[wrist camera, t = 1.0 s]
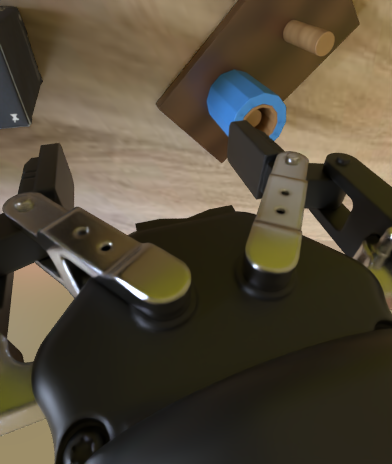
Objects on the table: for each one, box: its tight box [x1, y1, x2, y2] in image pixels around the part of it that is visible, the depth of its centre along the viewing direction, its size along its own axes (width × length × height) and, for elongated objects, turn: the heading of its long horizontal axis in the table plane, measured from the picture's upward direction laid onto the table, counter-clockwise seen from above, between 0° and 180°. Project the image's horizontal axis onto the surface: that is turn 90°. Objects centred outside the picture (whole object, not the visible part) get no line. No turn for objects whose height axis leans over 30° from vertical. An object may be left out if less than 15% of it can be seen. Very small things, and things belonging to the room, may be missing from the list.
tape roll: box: [207, 69, 286, 141], centre depth 31 cm, size 6×6×8 cm
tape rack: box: [156, 0, 359, 163], centre depth 30 cm, size 12×22×8 cm, turn 134°
